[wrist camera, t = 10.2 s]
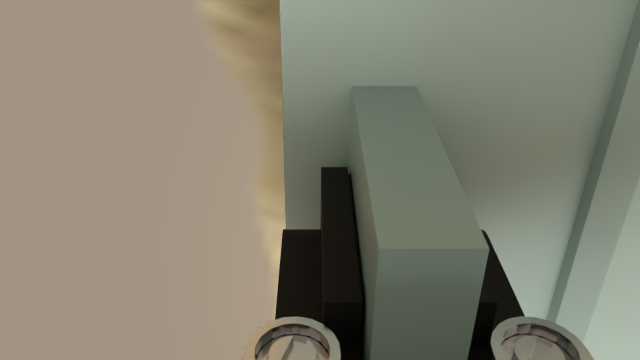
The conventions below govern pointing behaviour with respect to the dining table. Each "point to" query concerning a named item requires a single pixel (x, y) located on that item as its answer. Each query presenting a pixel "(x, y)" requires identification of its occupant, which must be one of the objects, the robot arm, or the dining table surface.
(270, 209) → the dining table surface
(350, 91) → the lid
